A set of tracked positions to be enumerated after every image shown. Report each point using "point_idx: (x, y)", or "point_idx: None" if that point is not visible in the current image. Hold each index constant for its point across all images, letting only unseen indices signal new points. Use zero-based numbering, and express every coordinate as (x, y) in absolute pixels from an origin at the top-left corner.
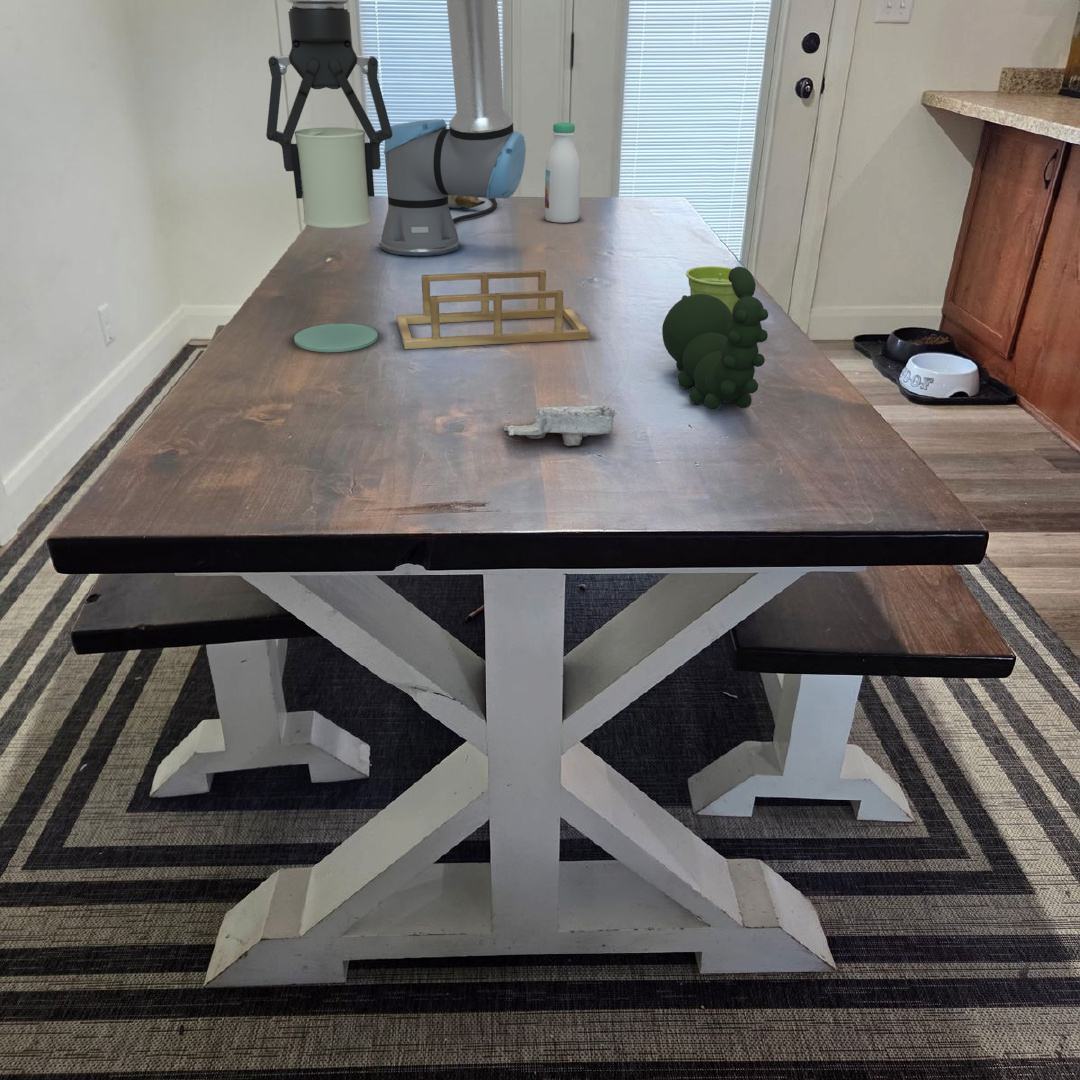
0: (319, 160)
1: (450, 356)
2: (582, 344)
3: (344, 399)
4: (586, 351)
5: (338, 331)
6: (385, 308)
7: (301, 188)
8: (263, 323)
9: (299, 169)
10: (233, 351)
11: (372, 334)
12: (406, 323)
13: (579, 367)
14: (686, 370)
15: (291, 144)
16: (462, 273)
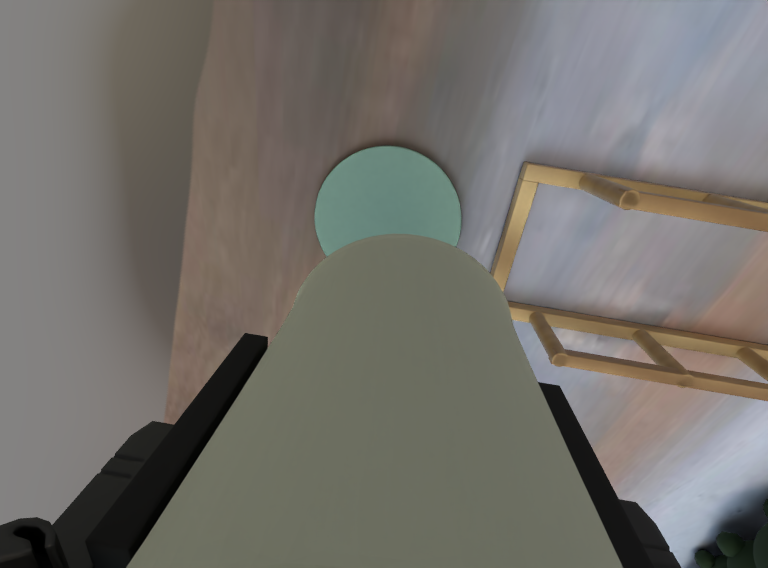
0: None
1: (531, 355)
2: (749, 374)
3: None
4: (728, 399)
5: (395, 201)
6: (543, 30)
7: (257, 357)
8: (261, 68)
9: (219, 416)
10: (218, 228)
11: (449, 238)
12: (523, 225)
13: (669, 442)
14: (730, 566)
15: (95, 563)
16: (730, 210)
